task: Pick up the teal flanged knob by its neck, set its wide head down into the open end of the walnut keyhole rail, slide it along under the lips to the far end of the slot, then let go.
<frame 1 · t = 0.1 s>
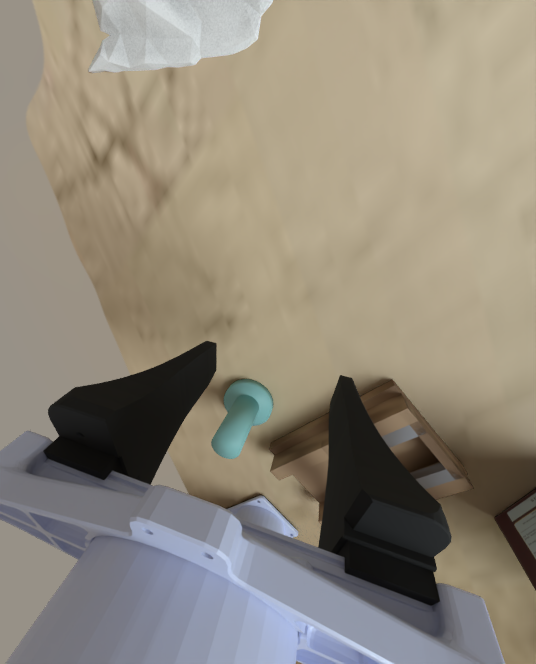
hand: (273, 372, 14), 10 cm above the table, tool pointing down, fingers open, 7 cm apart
keyhole rail: (358, 453, 27), on the table
teal flanged knob: (249, 399, 29), on the table
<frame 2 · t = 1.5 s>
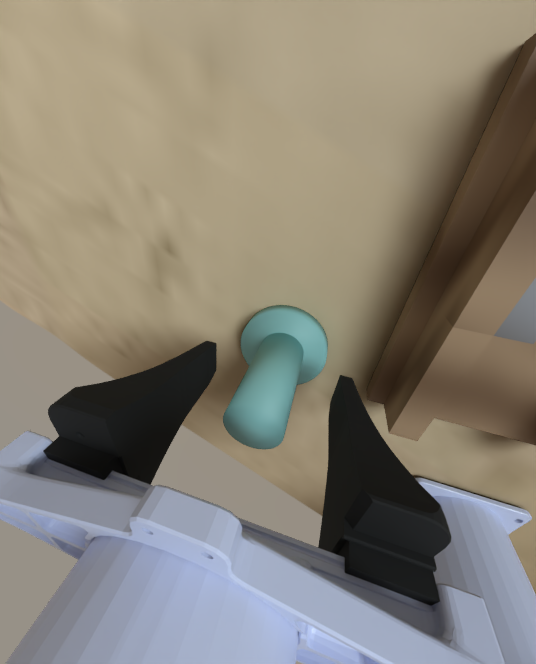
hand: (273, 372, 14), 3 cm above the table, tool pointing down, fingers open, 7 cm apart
teal flanged knob: (285, 343, 17), on the table
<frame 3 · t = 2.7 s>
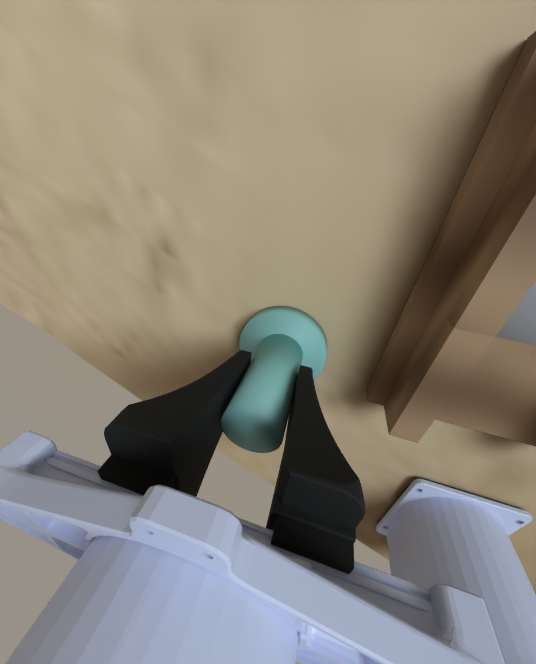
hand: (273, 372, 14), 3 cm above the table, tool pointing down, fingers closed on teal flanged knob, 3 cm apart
teal flanged knob: (283, 344, 16), on the table, touching gripper
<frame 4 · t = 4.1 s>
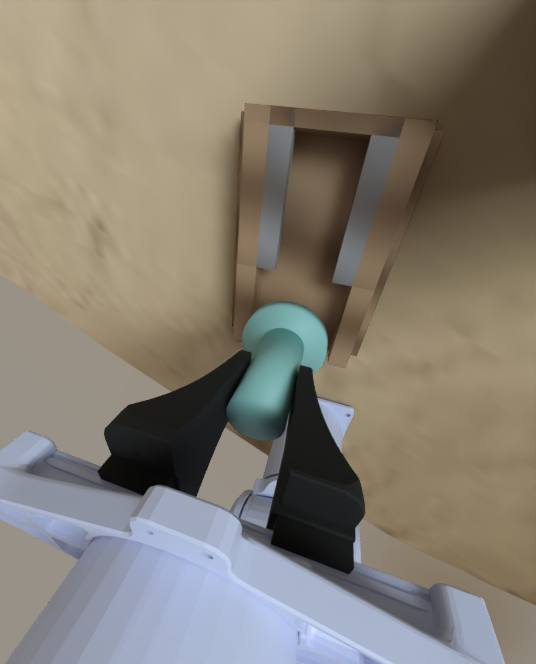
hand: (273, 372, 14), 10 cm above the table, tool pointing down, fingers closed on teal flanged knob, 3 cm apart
keyhole rail: (310, 252, 20), on the table
teal flanged knob: (285, 338, 17), point 6 cm above the table, touching gripper
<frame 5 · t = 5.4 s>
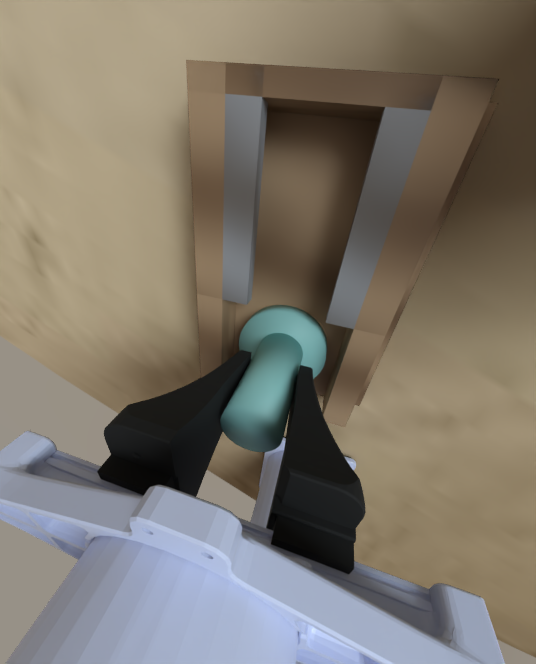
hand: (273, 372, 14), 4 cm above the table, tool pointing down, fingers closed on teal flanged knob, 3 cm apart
keyhole rail: (298, 276, 15), on the table
teal flanged knob: (283, 343, 16), point 1 cm above the table, touching gripper
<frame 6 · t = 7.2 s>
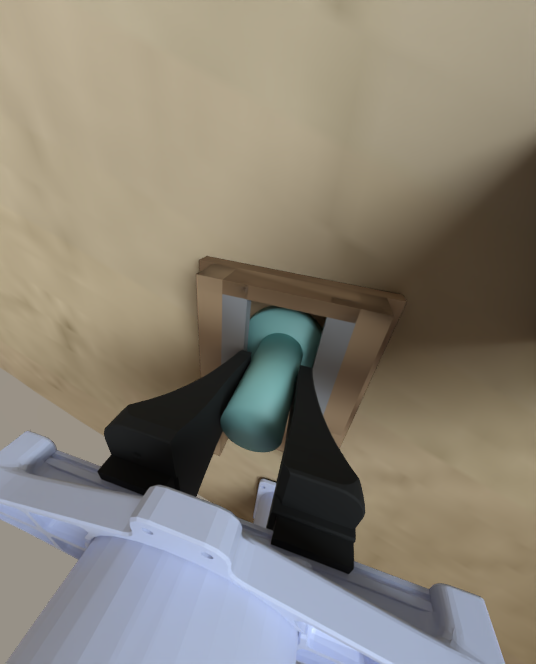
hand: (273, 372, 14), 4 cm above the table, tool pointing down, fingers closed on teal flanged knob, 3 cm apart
keyhole rail: (280, 373, 19), on the table
teal flanged knob: (284, 343, 16), point 1 cm above the table, touching gripper
when the fingers open (4 cm above the table, at t = 8.2 s): teal flanged knob stays where it is, resting on keyhole rail.
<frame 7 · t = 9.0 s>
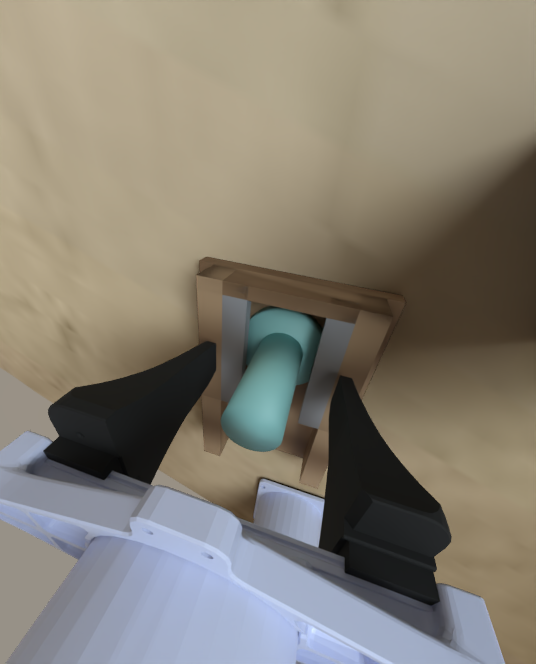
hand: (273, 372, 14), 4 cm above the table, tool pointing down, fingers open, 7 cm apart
keyhole rail: (280, 373, 19), on the table
teal flanged knob: (284, 343, 16), point 1 cm above the table, touching keyhole rail
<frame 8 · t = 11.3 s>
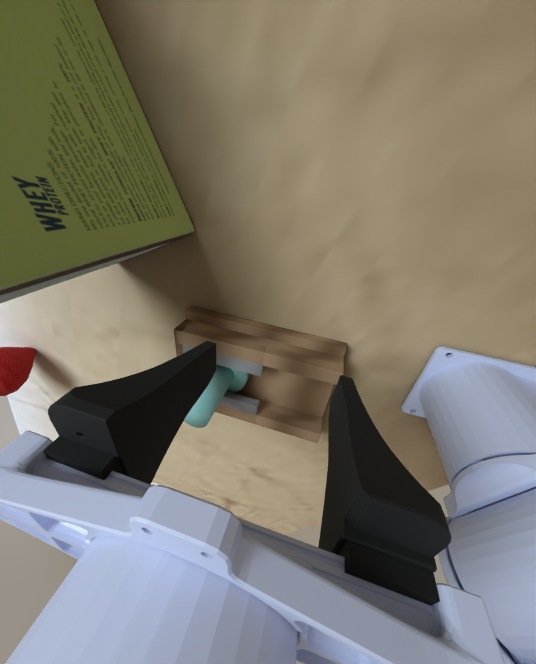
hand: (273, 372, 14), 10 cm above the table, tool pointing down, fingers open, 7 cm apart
keyhole rail: (258, 369, 28), on the table
protein box: (108, 158, 21), on the table
teal flanged knob: (225, 367, 27), point 1 cm above the table, touching keyhole rail
strawberry: (35, 349, 38), on the table
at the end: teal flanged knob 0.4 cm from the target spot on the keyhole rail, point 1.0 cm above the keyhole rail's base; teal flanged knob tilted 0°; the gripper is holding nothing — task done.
